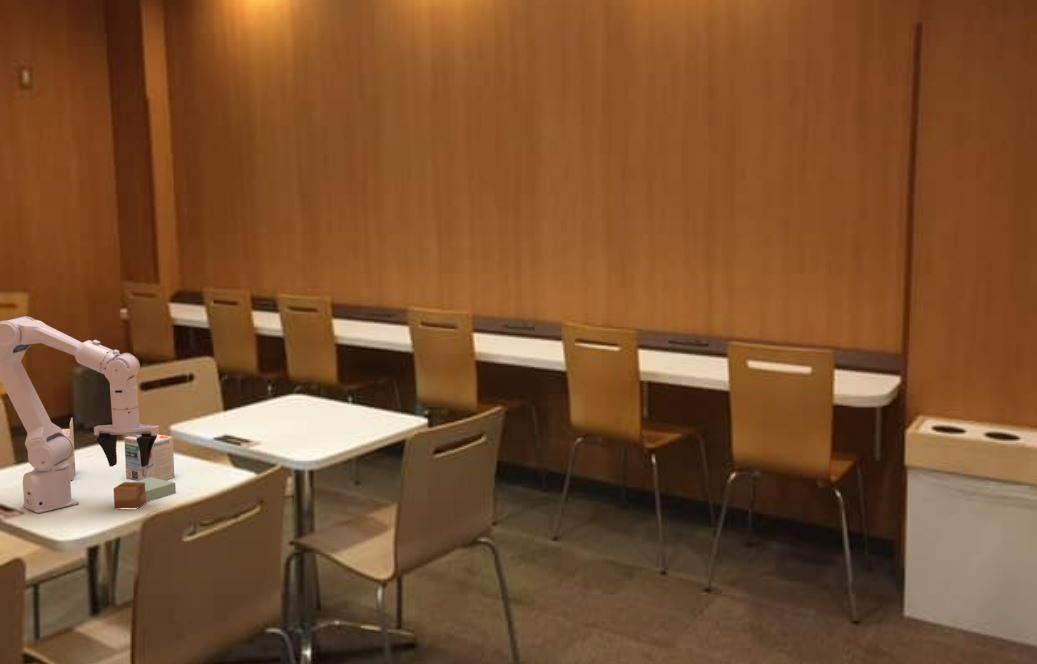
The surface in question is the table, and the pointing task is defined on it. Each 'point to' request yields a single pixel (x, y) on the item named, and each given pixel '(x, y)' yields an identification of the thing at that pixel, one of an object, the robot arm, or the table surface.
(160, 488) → the sage green box
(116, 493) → the walnut cube
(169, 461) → the light bulb box
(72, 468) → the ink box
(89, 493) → the table surface
